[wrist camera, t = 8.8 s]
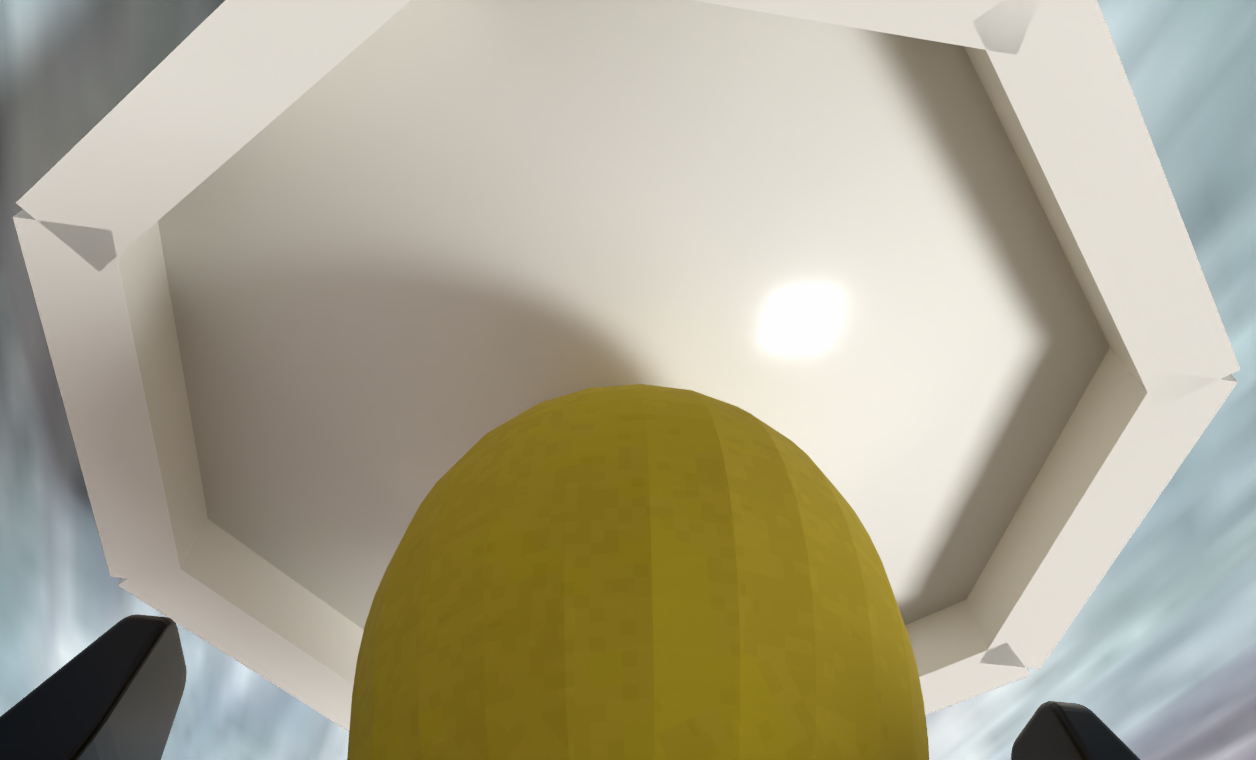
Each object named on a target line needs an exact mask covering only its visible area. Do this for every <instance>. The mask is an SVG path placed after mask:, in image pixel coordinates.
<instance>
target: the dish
mask: <svg viewBox="0 0 1256 760" xmlns="http://www.w3.org/2000/svg"><path fill="white" fill-rule="evenodd" d="M16 204H17V205H19V206H20V207H21V208H22V210H21V211H20V212H18V213H17V214H16V215H14V216H13V221H14V224H15V228H16V232H17V235H18V239H19V243H20V246H21V250H22V254H23V257H24V261H25V265H26V268H27V272H28V276H29V279H30V283H31V287H32V290H33V294H34V298H35V301H36V305H37V309H38V312H39V316H40V320H41V323H42V327H43V331H44V334H45V338H46V342H47V345H48V349H49V353H50V356H51V360H52V364H53V367H54V371H55V375H56V378H57V382H58V386H59V389H60V393H61V397H62V400H63V404H64V408H65V411H66V415H67V419H68V422H69V426H70V430H71V433H72V437H73V441H74V444H75V448H76V452H77V455H78V459H79V463H80V466H81V470H82V474H83V477H84V481H85V485H86V488H87V492H88V496H89V499H90V503H91V507H92V510H93V514H94V518H95V521H96V525H97V529H98V532H99V536H100V540H101V543H102V547H103V551H104V554H105V558H106V562H107V565H108V569H109V573H110V576H111V577H117V578H122V580H121V581H120V583H119V584H118V586H120V587H121V588H123V589H124V590H126V591H128V592H129V593H131V594H132V595H134V596H136V597H137V598H139V599H140V600H142V601H143V602H145V603H147V604H148V605H150V606H151V607H153V608H154V609H156V610H158V611H159V612H161V613H162V614H164V615H166V616H167V617H169V618H171V619H172V620H173V621H175V622H177V623H178V624H180V625H181V626H183V627H184V628H186V629H188V630H189V631H191V632H192V633H194V634H196V635H197V636H199V637H200V638H202V639H203V640H205V641H207V642H208V643H210V644H211V645H213V646H214V647H216V648H218V649H219V650H221V651H222V652H224V653H226V654H227V655H229V656H230V657H232V658H233V659H235V660H237V661H238V662H240V663H241V664H243V665H244V666H246V667H248V668H249V669H251V670H252V671H254V672H256V673H257V674H259V675H260V676H262V677H263V678H265V679H267V680H268V681H270V682H271V683H273V684H274V685H276V686H278V687H279V688H281V689H282V690H284V691H286V692H287V693H289V694H290V695H292V696H293V697H295V698H297V699H298V700H300V701H301V702H303V703H304V704H306V705H308V706H309V707H311V708H312V709H314V710H316V711H317V712H319V713H320V714H322V715H323V716H325V717H327V718H328V719H330V720H331V721H333V722H334V723H336V724H338V725H339V726H341V727H342V728H344V729H346V730H347V731H349V730H350V716H351V702H352V692H353V685H354V678H355V671H356V664H357V658H358V653H359V649H360V644H361V640H362V636H363V631H364V627H365V623H366V620H367V617H368V614H369V611H370V608H371V605H372V602H373V599H374V596H375V594H376V591H377V589H378V587H379V584H380V582H381V580H382V578H383V575H384V573H385V571H386V568H387V566H388V564H389V563H390V561H391V559H392V557H393V555H394V553H395V551H396V549H397V547H398V545H399V543H400V541H401V539H402V537H403V536H404V534H405V532H406V530H407V528H408V526H409V524H410V522H411V520H412V519H413V517H414V515H415V513H416V512H417V510H418V508H419V506H420V504H421V503H422V501H423V500H424V498H425V497H426V496H427V494H428V493H429V492H430V490H431V489H432V488H433V486H434V485H435V484H436V482H437V481H438V480H439V479H440V478H441V477H442V476H443V475H444V474H445V473H446V472H447V471H448V470H449V469H450V468H451V467H453V466H454V465H455V464H456V463H457V462H458V461H459V460H460V459H461V458H462V457H463V456H464V455H465V454H466V453H467V452H468V451H469V450H470V449H471V448H472V447H473V446H474V445H475V444H476V443H477V442H478V441H479V440H480V439H481V438H482V437H483V436H484V435H485V434H487V433H488V432H490V431H492V430H493V429H495V428H497V427H498V426H500V425H502V424H503V423H505V422H507V421H509V420H510V419H512V418H514V417H516V416H517V415H519V414H521V413H523V412H524V411H526V410H528V409H530V408H531V407H533V406H535V405H537V404H538V403H540V402H543V401H546V400H550V399H553V398H557V397H560V396H563V395H567V394H570V393H574V392H577V391H580V390H584V389H587V388H595V387H608V386H621V385H634V384H645V385H653V386H661V387H670V388H678V389H686V390H692V391H695V392H698V393H701V394H704V395H706V396H709V397H712V398H715V399H718V400H720V401H723V402H726V403H729V404H732V405H734V406H737V407H739V408H741V409H743V410H745V411H747V412H748V413H750V414H752V415H753V416H755V417H756V418H758V419H759V420H761V421H762V422H764V423H766V424H767V425H769V426H770V427H772V428H773V429H775V430H776V431H778V432H779V433H781V434H782V435H784V436H785V437H787V438H788V439H790V440H791V441H793V442H794V443H795V444H796V445H797V446H798V447H799V448H800V449H802V450H803V451H804V452H805V453H806V454H807V455H808V456H809V457H810V458H811V459H812V461H813V462H814V463H815V464H816V465H817V466H818V468H819V469H820V470H821V471H822V472H823V473H824V475H825V476H826V477H827V478H828V479H829V480H830V482H831V483H832V484H833V485H834V486H835V487H836V489H837V490H838V491H839V492H840V493H841V495H842V496H843V497H844V498H845V500H846V501H847V502H848V503H849V505H850V506H851V507H852V509H853V510H854V511H855V513H856V514H857V516H858V518H859V519H860V521H861V523H862V524H863V526H864V527H865V529H866V531H867V532H868V534H869V536H870V538H871V540H872V542H873V544H874V546H875V548H876V550H877V552H878V555H879V557H880V559H881V561H882V564H883V566H884V569H885V572H886V574H887V577H888V580H889V582H890V585H891V588H892V591H893V593H894V596H895V599H896V601H897V604H898V607H899V610H900V612H901V615H902V618H903V620H904V623H905V626H906V629H907V631H908V634H909V638H910V642H911V645H912V649H913V653H914V656H915V660H916V664H917V668H918V674H919V679H920V685H921V690H922V695H923V701H924V709H925V715H928V714H930V713H933V712H936V711H938V710H941V709H943V708H946V707H949V706H951V705H954V704H956V703H959V702H962V701H964V700H967V699H970V698H972V697H975V696H977V695H980V694H983V693H985V692H988V691H991V690H993V689H996V688H998V687H1001V686H1004V685H1006V684H1009V683H1012V682H1014V681H1017V680H1019V679H1022V678H1025V677H1027V676H1030V675H1031V674H1030V671H1029V669H1028V668H1036V669H1040V668H1041V667H1042V665H1043V664H1044V662H1045V661H1046V659H1047V658H1048V656H1049V655H1050V654H1051V652H1052V651H1053V649H1054V648H1055V646H1056V645H1057V643H1058V642H1059V641H1060V639H1061V638H1062V636H1063V635H1064V633H1065V632H1066V630H1067V629H1068V627H1069V626H1070V625H1071V623H1072V622H1073V620H1074V619H1075V617H1076V616H1077V614H1078V613H1079V612H1080V610H1081V609H1082V607H1083V606H1084V604H1085V603H1086V601H1087V600H1088V598H1089V597H1090V596H1091V594H1092V593H1093V591H1094V590H1095V588H1096V587H1097V585H1098V584H1099V583H1100V581H1101V580H1102V578H1103V577H1104V575H1105V574H1106V572H1107V571H1108V570H1109V568H1110V567H1111V565H1112V564H1113V562H1114V561H1115V559H1116V558H1117V556H1118V555H1119V554H1120V552H1121V551H1122V549H1123V548H1124V546H1125V545H1126V543H1127V542H1128V541H1129V539H1130V538H1131V536H1132V535H1133V533H1134V532H1135V530H1136V529H1137V528H1138V526H1139V525H1140V523H1141V522H1142V520H1143V519H1144V517H1145V516H1146V514H1147V513H1148V512H1149V510H1150V509H1151V507H1152V506H1153V504H1154V503H1155V501H1156V500H1157V499H1158V497H1159V496H1160V494H1161V493H1162V491H1163V490H1164V488H1165V487H1166V486H1167V484H1168V483H1169V481H1170V480H1171V478H1172V477H1173V475H1174V474H1175V472H1176V471H1177V470H1178V468H1179V467H1180V465H1181V464H1182V462H1183V461H1184V459H1185V458H1186V457H1187V455H1188V454H1189V452H1190V451H1191V449H1192V448H1193V446H1194V445H1195V444H1196V442H1197V441H1198V439H1199V438H1200V436H1201V435H1202V433H1203V432H1204V430H1205V429H1206V428H1207V426H1208V425H1209V423H1210V422H1211V420H1212V419H1213V417H1214V416H1215V415H1216V413H1217V412H1218V410H1219V409H1220V407H1221V406H1222V404H1223V403H1224V402H1225V400H1226V399H1227V397H1228V396H1229V394H1230V393H1231V391H1232V390H1233V388H1234V387H1235V386H1236V384H1237V383H1238V381H1237V380H1236V379H1235V378H1234V377H1233V376H1232V375H1231V374H1232V373H1234V372H1237V371H1239V370H1240V367H1239V364H1238V362H1237V359H1236V357H1235V354H1234V352H1233V349H1232V346H1231V344H1230V341H1229V339H1228V336H1227V334H1226V331H1225V328H1224V326H1223V323H1222V321H1221V318H1220V315H1219V313H1218V310H1217V308H1216V305H1215V303H1214V300H1213V297H1212V295H1211V292H1210V290H1209V287H1208V285H1207V282H1206V279H1205V277H1204V274H1203V272H1202V269H1201V267H1200V264H1199V261H1198V259H1197V256H1196V254H1195V251H1194V249H1193V246H1192V243H1191V241H1190V238H1189V236H1188V233H1187V230H1186V228H1185V225H1184V223H1183V220H1182V218H1181V215H1180V212H1179V210H1178V207H1177V205H1176V202H1175V200H1174V197H1173V194H1172V192H1171V189H1170V187H1169V184H1168V182H1167V179H1166V176H1165V174H1164V171H1163V169H1162V166H1161V163H1160V161H1159V158H1158V156H1157V153H1156V151H1155V148H1154V145H1153V143H1152V140H1151V138H1150V135H1149V133H1148V130H1147V127H1146V125H1145V122H1144V120H1143V117H1142V115H1141V112H1140V109H1139V107H1138V104H1137V102H1136V99H1135V96H1134V94H1133V91H1132V89H1131V86H1130V84H1129V81H1128V78H1127V76H1126V73H1125V71H1124V68H1123V66H1122V63H1121V60H1120V58H1119V55H1118V53H1117V50H1116V48H1115V45H1114V42H1113V40H1112V37H1111V35H1110V32H1109V29H1108V27H1107V24H1106V22H1105V19H1104V17H1103V14H1102V11H1101V9H1100V6H1099V4H1098V1H1097V0H225V1H224V2H223V3H222V4H221V5H220V6H219V7H218V8H217V9H216V10H215V11H214V12H213V13H212V14H210V15H209V16H208V17H207V18H206V19H205V20H204V21H203V22H202V23H201V24H200V25H199V26H198V27H197V28H196V29H195V30H194V31H193V32H192V33H191V34H190V35H189V36H188V37H187V38H186V39H185V40H184V41H183V42H182V43H180V44H179V45H178V46H177V47H176V48H175V49H174V50H173V51H172V52H171V53H170V54H169V55H168V56H167V57H166V58H165V59H164V60H163V61H162V62H161V63H160V64H159V65H158V66H157V67H156V68H155V69H154V70H153V71H152V72H150V73H149V74H148V75H147V76H146V77H145V78H144V79H143V80H142V81H141V82H140V83H139V84H138V85H137V86H136V87H135V88H134V89H133V90H132V91H131V92H130V93H129V94H128V95H127V96H126V97H125V98H124V99H123V100H122V101H120V102H119V103H118V104H117V105H116V106H115V107H114V108H113V109H112V110H111V111H110V112H109V113H108V114H107V115H106V116H105V117H104V118H103V119H102V120H101V121H100V122H99V123H98V124H97V125H96V126H95V127H94V128H93V129H92V130H91V131H89V132H88V133H87V134H86V135H85V136H84V137H83V138H82V139H81V140H80V141H79V142H78V143H77V144H76V145H75V146H74V147H73V148H72V149H71V150H70V151H69V152H68V153H67V154H66V155H65V156H64V157H63V158H62V159H61V160H59V161H58V162H57V163H56V164H55V165H54V166H53V167H52V168H51V169H50V170H49V171H48V172H47V173H46V174H45V175H44V176H43V177H42V178H41V179H40V180H39V181H38V182H37V183H36V184H35V185H34V186H33V187H32V188H31V189H29V190H28V191H27V192H26V193H25V194H24V195H23V196H22V197H21V198H20V199H19V200H18V201H17V202H16Z"/></svg>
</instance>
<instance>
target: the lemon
mask: <svg viewBox="0 0 1256 760" xmlns="http://www.w3.org/2000/svg"><path fill="white" fill-rule="evenodd" d="M347 760H929V751H928V736H927V727H926V718H925V709H924V701H923V695H922V690H921V685H920V679H919V674H918V668H917V664H916V660H915V656H914V653H913V649H912V645H911V642H910V638H909V634H908V631H907V629H906V626H905V623H904V620H903V618H902V615H901V612H900V610H899V607H898V604H897V601H896V599H895V596H894V593H893V591H892V588H891V585H890V582H889V580H888V577H887V574H886V572H885V569H884V566H883V564H882V561H881V559H880V557H879V555H878V552H877V550H876V548H875V546H874V544H873V542H872V540H871V538H870V536H869V534H868V532H867V531H866V529H865V527H864V526H863V524H862V523H861V521H860V519H859V518H858V516H857V514H856V513H855V511H854V510H853V509H852V507H851V506H850V505H849V503H848V502H847V501H846V500H845V498H844V497H843V496H842V495H841V493H840V492H839V491H838V490H837V489H836V487H835V486H834V485H833V484H832V483H831V482H830V480H829V479H828V478H827V477H826V476H825V475H824V473H823V472H822V471H821V470H820V469H819V468H818V466H817V465H816V464H815V463H814V462H813V461H812V459H811V458H810V457H809V456H808V455H807V454H806V453H805V452H804V451H803V450H802V449H800V448H799V447H798V446H797V445H796V444H795V443H794V442H793V441H791V440H790V439H788V438H787V437H785V436H784V435H782V434H781V433H779V432H778V431H776V430H775V429H773V428H772V427H770V426H769V425H767V424H766V423H764V422H762V421H761V420H759V419H758V418H756V417H755V416H753V415H752V414H750V413H748V412H747V411H745V410H743V409H741V408H739V407H737V406H734V405H732V404H729V403H726V402H723V401H720V400H718V399H715V398H712V397H709V396H706V395H704V394H701V393H698V392H695V391H692V390H686V389H678V388H670V387H661V386H653V385H645V384H634V385H621V386H608V387H595V388H587V389H584V390H580V391H577V392H574V393H570V394H567V395H563V396H560V397H557V398H553V399H550V400H546V401H543V402H540V403H538V404H537V405H535V406H533V407H531V408H530V409H528V410H526V411H524V412H523V413H521V414H519V415H517V416H516V417H514V418H512V419H510V420H509V421H507V422H505V423H503V424H502V425H500V426H498V427H497V428H495V429H493V430H492V431H490V432H488V433H487V434H485V435H484V436H483V437H482V438H481V439H480V440H479V441H478V442H477V443H476V444H475V445H474V446H473V447H472V448H471V449H470V450H469V451H468V452H467V453H466V454H465V455H464V456H463V457H462V458H461V459H460V460H459V461H458V462H457V463H456V464H455V465H454V466H453V467H451V468H450V469H449V470H448V471H447V472H446V473H445V474H444V475H443V476H442V477H441V478H440V479H439V480H438V481H437V482H436V484H435V485H434V486H433V488H432V489H431V490H430V492H429V493H428V494H427V496H426V497H425V498H424V500H423V501H422V503H421V504H420V506H419V508H418V510H417V512H416V513H415V515H414V517H413V519H412V520H411V522H410V524H409V526H408V528H407V530H406V532H405V534H404V536H403V537H402V539H401V541H400V543H399V545H398V547H397V549H396V551H395V553H394V555H393V557H392V559H391V561H390V563H389V564H388V566H387V568H386V571H385V573H384V575H383V578H382V580H381V582H380V584H379V587H378V589H377V591H376V594H375V596H374V599H373V602H372V605H371V608H370V611H369V614H368V617H367V620H366V623H365V627H364V631H363V636H362V640H361V644H360V649H359V653H358V658H357V664H356V671H355V678H354V685H353V692H352V702H351V716H350V730H349V745H348V759H347Z"/></svg>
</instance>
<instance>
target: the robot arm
mask: <svg viewBox="0 0 1256 760" xmlns="http://www.w3.org/2000/svg"><path fill="white" fill-rule="evenodd" d="M185 682H186V665H185V660H184V656H183V651H182V647H181V642H180V638H179V633H178V629H177V626H176V623H175V622H174V621H173V620H172V619H171V618H167V617H157V616H147V615H131V616H128V617H126V618H124V619H122V620H121V621H119V622H118V623H117V624H115V625H114V626H113V627H112V628H110V629H109V630H108V631H107V632H106V633H104V634H103V635H102V636H101V637H99V638H98V639H97V640H96V641H94V642H93V643H92V644H91V645H89V646H88V647H87V648H86V649H84V650H83V651H82V652H81V653H79V654H78V655H77V656H76V657H74V658H73V659H72V660H71V661H69V662H68V663H67V664H66V665H64V666H63V667H62V668H61V669H59V670H58V671H57V672H56V673H54V674H53V675H52V676H51V677H49V678H48V679H47V680H46V681H44V682H43V683H42V684H41V685H40V686H38V687H37V688H36V689H35V690H33V691H32V692H31V693H30V694H28V695H27V696H26V697H25V698H23V699H22V700H21V701H20V702H18V703H17V704H16V705H15V706H13V707H12V708H11V709H10V710H8V711H7V712H6V713H5V714H3V715H2V716H1V717H0V760H161V757H162V754H163V751H164V748H165V745H166V742H167V739H168V736H169V733H170V730H171V727H172V724H173V722H174V719H175V716H176V713H177V710H178V707H179V704H180V701H181V698H182V695H183V691H184V687H185ZM1011 760H1140V759H1139V758H1138V757H1137V756H1136V755H1135V754H1134V753H1133V752H1132V751H1131V750H1130V749H1129V748H1128V747H1127V746H1126V745H1125V744H1124V743H1123V742H1122V741H1121V740H1120V739H1119V738H1118V737H1117V736H1116V735H1115V734H1114V733H1113V732H1112V731H1111V730H1110V729H1109V728H1108V727H1107V726H1106V725H1105V724H1104V723H1103V722H1102V721H1101V720H1100V719H1099V718H1098V717H1097V716H1096V715H1095V714H1094V713H1093V712H1092V711H1091V710H1090V709H1088V708H1087V707H1085V706H1083V705H1080V704H1076V703H1065V702H1054V701H1048V702H1046V703H1043V704H1042V705H1041V706H1040V707H1039V708H1038V709H1037V711H1036V712H1035V714H1034V715H1033V716H1032V718H1031V719H1030V721H1029V722H1028V723H1027V725H1026V726H1025V728H1024V729H1023V730H1022V732H1021V733H1020V734H1019V736H1018V737H1017V739H1016V740H1015V742H1014V745H1013V748H1012V754H1011Z"/></svg>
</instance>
